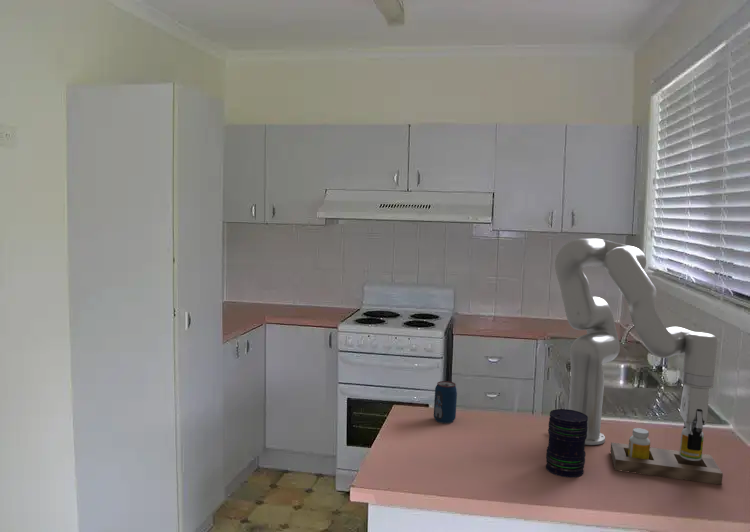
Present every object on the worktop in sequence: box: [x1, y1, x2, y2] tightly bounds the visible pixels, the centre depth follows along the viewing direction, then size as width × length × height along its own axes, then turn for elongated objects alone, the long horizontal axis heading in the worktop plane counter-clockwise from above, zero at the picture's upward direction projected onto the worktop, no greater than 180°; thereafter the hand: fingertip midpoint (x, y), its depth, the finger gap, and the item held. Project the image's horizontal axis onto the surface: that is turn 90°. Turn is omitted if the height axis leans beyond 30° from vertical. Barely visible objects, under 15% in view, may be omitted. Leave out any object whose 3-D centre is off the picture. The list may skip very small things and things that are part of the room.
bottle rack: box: [609, 442, 724, 486], centre depth 180 cm, size 26×13×3 cm, turn 76°
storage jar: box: [545, 408, 588, 479], centre depth 175 cm, size 10×10×15 cm
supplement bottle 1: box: [628, 427, 651, 460], centre depth 182 cm, size 5×5×10 cm
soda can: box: [433, 380, 458, 425], centre depth 210 cm, size 7×7×12 cm
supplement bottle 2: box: [679, 421, 705, 461], centre depth 178 cm, size 5×5×10 cm
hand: (691, 444), depth 178 cm, fingers closed on supplement bottle 2, 5 cm apart
